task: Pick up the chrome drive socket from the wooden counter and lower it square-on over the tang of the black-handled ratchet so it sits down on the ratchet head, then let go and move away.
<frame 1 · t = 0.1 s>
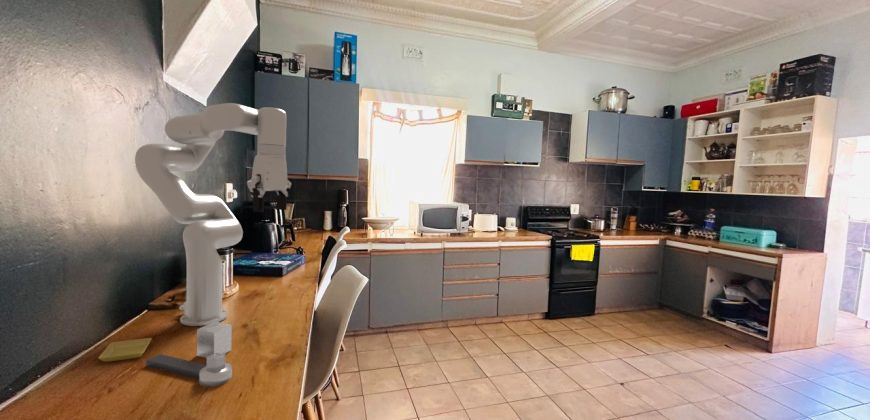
hand: (270, 210, 105), 37 cm above the countertop, tool pointing down, fingers open, 9 cm apart
ratchet: (215, 378, 82), on the countertop
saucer: (127, 355, 90), on the countertop
socket: (214, 353, 93), on the countertop
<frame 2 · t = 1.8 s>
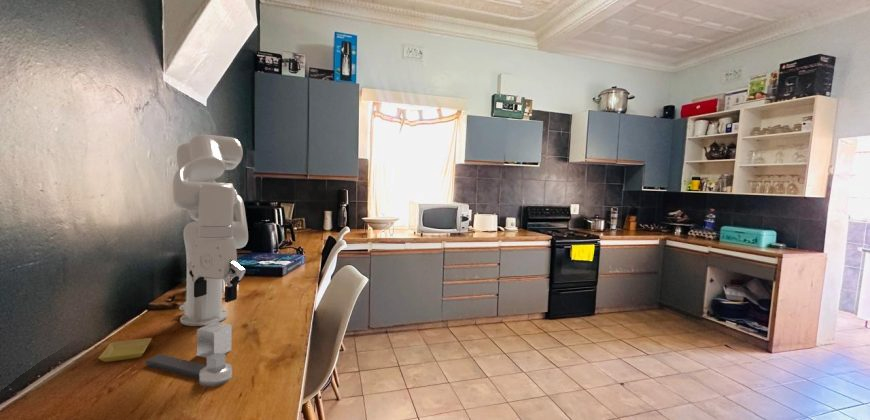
hand: (215, 298, 92), 15 cm above the countertop, tool pointing down, fingers open, 9 cm apart
nothing on the countertop moved.
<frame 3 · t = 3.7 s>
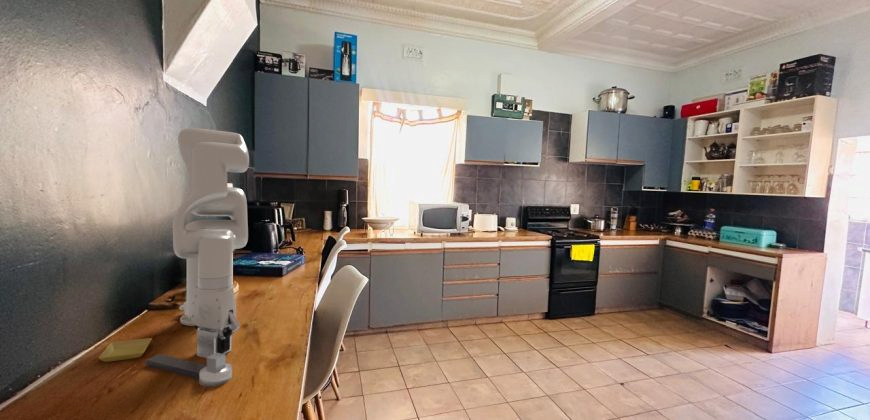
hand: (214, 349, 93), 1 cm above the countertop, tool pointing down, fingers closed on socket, 5 cm apart
socket: (214, 353, 93), on the countertop, touching gripper
everything else where it was.
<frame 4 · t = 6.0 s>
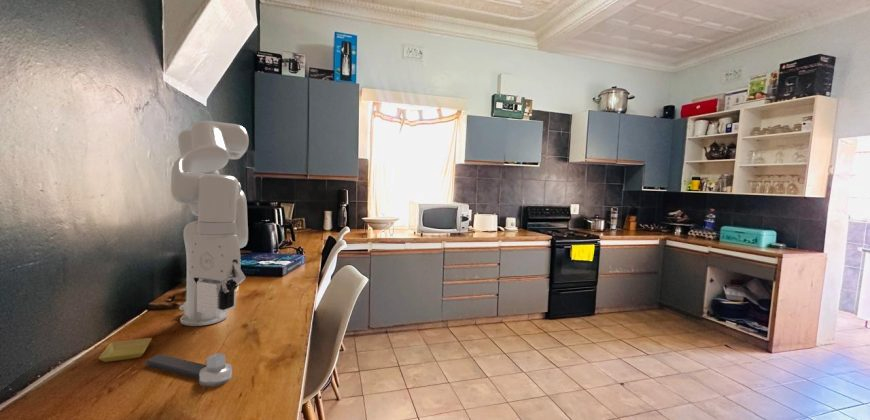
hand: (216, 305, 83), 16 cm above the countertop, tool pointing down, fingers closed on socket, 5 cm apart
socket: (216, 309, 83), point 15 cm above the countertop, touching gripper
everything else where it was.
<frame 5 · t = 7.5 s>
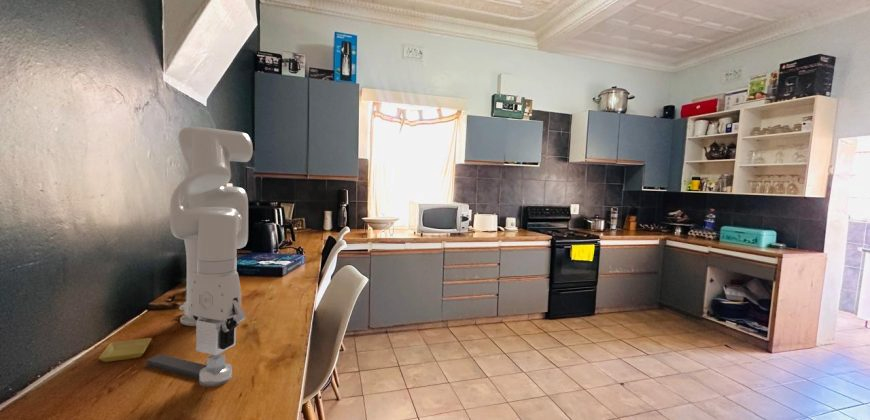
hand: (216, 343, 81), 8 cm above the countertop, tool pointing down, fingers closed on socket, 5 cm apart
socket: (216, 347, 81), point 7 cm above the countertop, touching gripper
everything else where it was.
when the fingers open (4 cm above the countertop, at t = 8.8 s): socket stays where it is, point 2 cm above the countertop.
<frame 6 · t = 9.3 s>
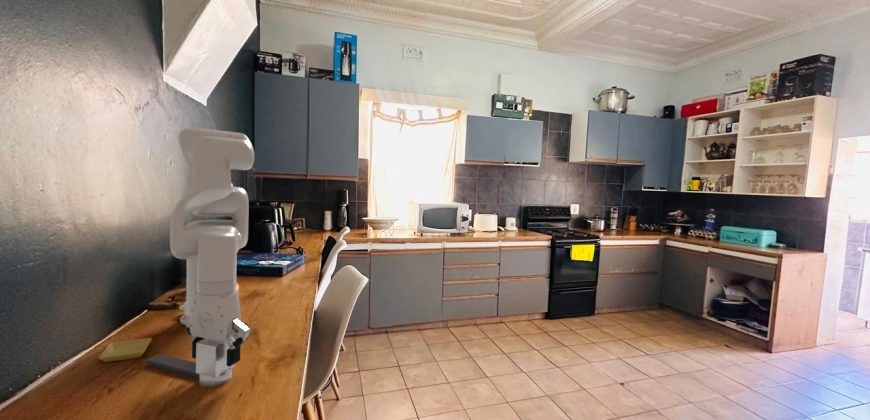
hand: (216, 359, 82), 4 cm above the countertop, tool pointing down, fingers open, 9 cm apart
socket: (215, 369, 82), point 2 cm above the countertop
everything else where it was.
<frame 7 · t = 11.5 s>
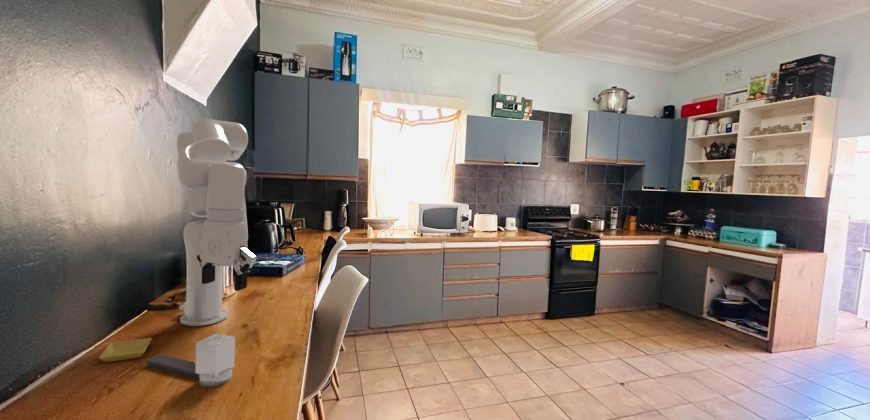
hand: (224, 285, 86), 20 cm above the countertop, tool pointing down, fingers open, 9 cm apart
ratchet: (215, 378, 82), on the countertop, touching socket
socket: (215, 369, 82), point 2 cm above the countertop, touching ratchet
everything else where it was.
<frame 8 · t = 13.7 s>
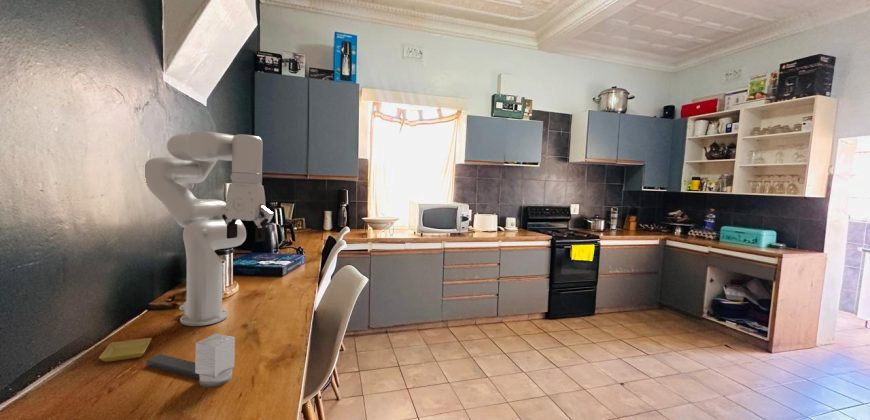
hand: (245, 239, 102), 28 cm above the countertop, tool pointing down, fingers open, 9 cm apart
nothing on the countertop moved.
at the end: socket 0.3 cm off-centre on the ratchet, point 2.2 cm above the ratchet's base; socket tilted 0°; the gripper is holding nothing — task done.
